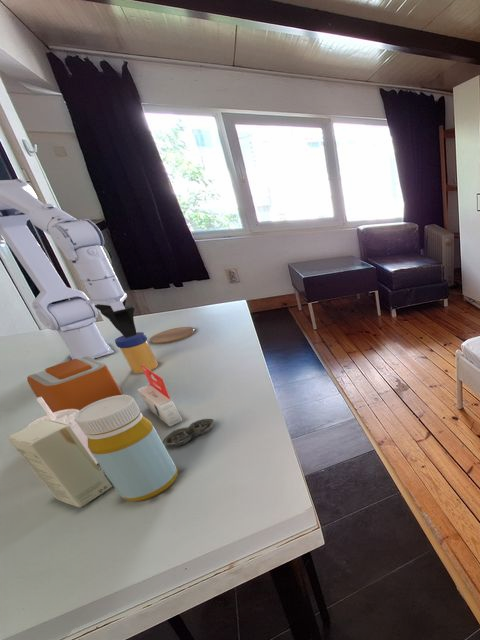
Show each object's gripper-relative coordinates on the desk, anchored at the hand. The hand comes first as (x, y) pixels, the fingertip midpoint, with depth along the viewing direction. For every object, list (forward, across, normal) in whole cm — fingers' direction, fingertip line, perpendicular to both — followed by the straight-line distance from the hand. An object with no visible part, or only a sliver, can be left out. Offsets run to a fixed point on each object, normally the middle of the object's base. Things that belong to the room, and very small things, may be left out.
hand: (127, 332), depth 88 cm
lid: (+1, 0, 0) cm, 1 cm away
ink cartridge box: (+10, +29, -3) cm, 31 cm away
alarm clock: (+10, +21, -12) cm, 26 cm away
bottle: (+10, +50, -10) cm, 52 cm away
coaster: (+10, -19, +11) cm, 24 cm away
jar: (+10, 0, 0) cm, 10 cm away
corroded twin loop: (+10, +41, -2) cm, 42 cm away
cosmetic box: (+10, +43, -17) cm, 47 cm away
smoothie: (+10, +35, -16) cm, 40 cm away
